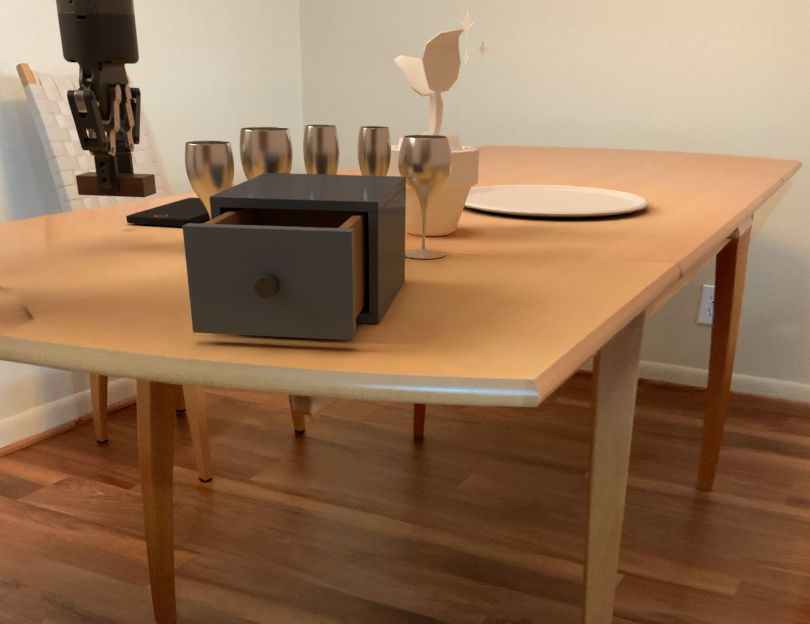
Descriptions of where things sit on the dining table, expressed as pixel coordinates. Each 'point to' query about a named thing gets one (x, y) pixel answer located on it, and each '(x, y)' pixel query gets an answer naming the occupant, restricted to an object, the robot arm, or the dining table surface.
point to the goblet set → (322, 161)
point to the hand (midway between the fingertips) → (117, 190)
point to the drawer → (278, 272)
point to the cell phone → (172, 214)
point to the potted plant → (431, 80)
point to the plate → (553, 201)
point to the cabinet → (339, 194)
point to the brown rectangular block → (128, 185)
